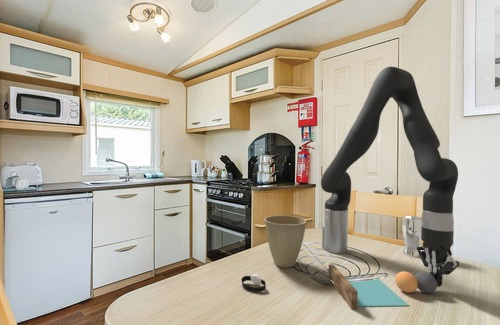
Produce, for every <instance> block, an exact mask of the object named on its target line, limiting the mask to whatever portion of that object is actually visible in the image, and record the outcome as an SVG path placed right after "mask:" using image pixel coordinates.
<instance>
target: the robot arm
mask: <svg viewBox="0 0 500 325" xmlns="http://www.w3.org/2000/svg"><path fill="white" fill-rule="evenodd" d="M414 79H415V78H414V76H413V75H412V74H411V72H410V71H408V70H406V69H402V68H400V67H397V66H387V67H385V68H383V69H381V71H380V72H379V73H378V74H377V75H376V77H375V79H374V81H373V83H372V86H371V87H370V90H369V92H368V95H367V97H366V99H365V101H364V103H363V106H362V107H361V110H360V111H359V113H358V115H357V116H356V119H355V121H354V122H353V124H352V125H351V128H350V129H349V131H348V132H347V135H346V137H345V139H344V141H343V143H342V144H341V146H340V148H339V150H338V151H337V153H336V154H335V157H334V158H333V160H332V161H331V162H330V164H329V165H328V167H327V168H326V170H324V172H323V174H322V177H321V179H320V185H321V189H322V191H324V192H325V193H327V194H331V196H330V197H329V198H328V199H327V200H325V202H324V225H322V226H321V228H322V229H321V230H322V232H321V235H322V236H321V238H322V239H321V248H322V249H324V250H325V251H327V252H329V253H333V254H345V253H347V252H348V238H349V237H348V233H349V232H348V231H349V230H348V228H349V224H348V223H349V205H350V203H351V195H352V178H351V176H350V174H349V173H348V172H347V171H348V170H349V168H350V167H351V166H352V165H353V164H354V163H356V162H357V161H358V160H359V159H360V158H362V157H363V156H364V155H365V154H366V153H367V152H368V151H369V150H370V148H371V146H372V145H373V143H374V142H375V140H376V139H377V137H378V133H379V128H380V121H381V114H382V113H383V111H384V109H385V107H386V105H387V104H388V102H390V99H392V100H394V101H395V103H396V105H397V106H398V107H399V109H400V112H401V116H402V123H403V124H402V125H403V130H404V134H405V136H406V139H407V141H408V142H409V145H410V147H411V148H412V150H413V158H414V161H415V166H416V169H417V172H418V173H419V175H420V177H422V179H423V180H424V181H426V182H428V183H429V185H428V189H427V190H425V191H424V193H423V194H422V195H423V196H422V213H421V239H422V240H421V242H422V245H420V247H417V251H418V253H419V255H420V257H419V258H420V260H421V261H422V264H423V266H424V267H425V268H427V269H428V271H429V274H431V275H432V276H433V277H434V278H435V279H436V281H437V288H440V287H442V285H443V276H448V275H450V274H452V273H453V272H454V271H455V270H456V269H457V268H459V266H461V264H460V262H459V261H457V260H455V259H454V258H453V257H452V256H453V254H452V250H451V248H452V246H453V245H454V234H455V233H454V229H455V227H454V226H455V225H454V224H455V222H454V194H455V191H456V188H457V184H458V180H459V169H458V166H457V164H456V162H454V161H453V160H452V159H450V158H444V157H441V156H442V155H441V153H440V151H439V148H440V146H441V142H440V140H439V137H438V135H437V133H436V131H435V130H434V128H433V126H432V124H431V122H430V120H429V118H428V116H427V115H426V111H425V110H424V108H423V107H424V106H423V105H422V102H421V99H420V97H419V93H418V89H417V85H416V82H415V80H414Z"/></svg>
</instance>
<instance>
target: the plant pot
mask: <svg viewBox="0 0 500 325" xmlns="http://www.w3.org/2000/svg"><path fill="white" fill-rule="evenodd" d="M264 224H265V232H266V233H265V234H266V238H267V244H268V247H269V251H270V254H271V257H272V260H273V262H274V265H275V266H277V267H280V268H292V267H294V266H296V263H297V260H298V258H299V256H300V252H301V248H302V246H303V241H304V237H305V232H306V226H307V219H305V218H303V217H299V216H295V215H294V216H293V215H285V214H284V215H283V214H282V215H280V214H278V215H271V216H270V215H269V216H267V217H265V218H264ZM291 266H292V267H291Z"/></svg>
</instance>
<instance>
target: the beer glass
mask: <svg viewBox="0 0 500 325" xmlns="http://www.w3.org/2000/svg"><path fill="white" fill-rule="evenodd" d="M421 218H422V216H421V217H420V216H414V215H403V218H402V227H401V228H402V229H401V230H402V234H403V241H404V244H403V245H404V247H403V251H402V253H403V255H405V256H407V257H411V258H421V257H420V255H419V253H418V251H417V247H421V245H422V244H421V243H422V239H421Z"/></svg>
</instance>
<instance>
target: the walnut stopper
mask: <svg viewBox="0 0 500 325" xmlns="http://www.w3.org/2000/svg"><path fill="white" fill-rule="evenodd" d="M328 278H329V279H330V280H332V281H334V285H333V287H334V288H335V289H336V290H337V292H338V294H340V296H341V298H342V299H343V300H344V301H345V302H346V304H347V305H348V307H350V309H351V310H358V307H357V299H358V291H357V290H356V289H355V288H354V287H353V286H352V285H351V284H350V282H349V281H348V280H347V278H346V277H345V276H344V275H343V274H342V273H341V271H340V270H339V269H338V268H337V267H336V266H335V265H334V264H328ZM328 278H327V279H328ZM329 279H328V280H329ZM330 280H329V281H330Z"/></svg>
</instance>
